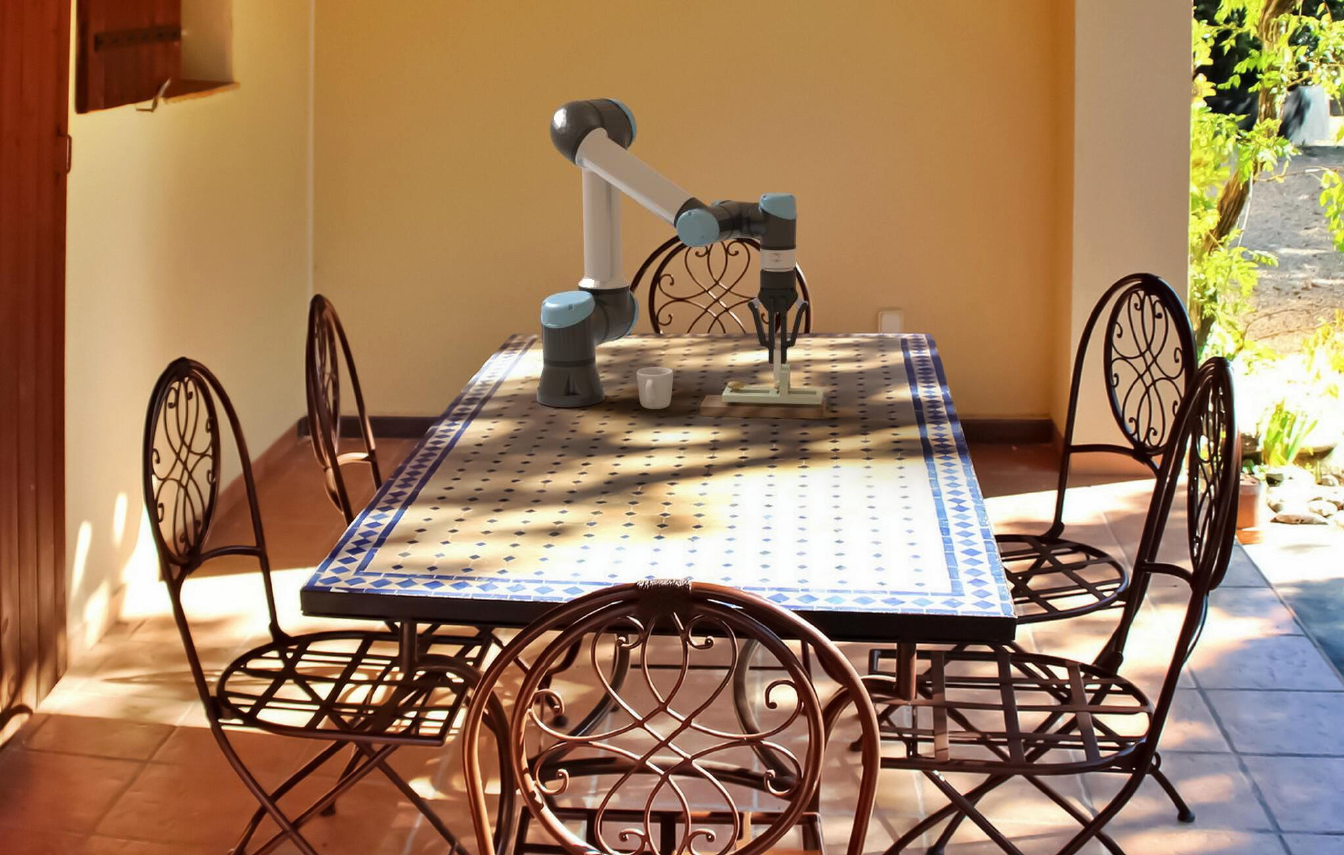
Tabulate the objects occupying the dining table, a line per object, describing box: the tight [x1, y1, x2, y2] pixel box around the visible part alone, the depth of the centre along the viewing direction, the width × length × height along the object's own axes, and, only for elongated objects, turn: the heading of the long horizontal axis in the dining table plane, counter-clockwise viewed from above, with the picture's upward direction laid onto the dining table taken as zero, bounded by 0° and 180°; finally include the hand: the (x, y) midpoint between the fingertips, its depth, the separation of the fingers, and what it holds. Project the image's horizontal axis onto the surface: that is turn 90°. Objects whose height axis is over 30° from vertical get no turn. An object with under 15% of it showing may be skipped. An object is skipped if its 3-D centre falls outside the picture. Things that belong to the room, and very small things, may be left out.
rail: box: [699, 380, 827, 420], centre depth 308 cm, size 26×10×6 cm, turn 81°
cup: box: [636, 366, 674, 410], centre depth 311 cm, size 11×8×8 cm
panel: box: [721, 363, 825, 404], centre depth 306 cm, size 21×8×7 cm, turn 81°
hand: (777, 378), depth 306 cm, fingers closed
